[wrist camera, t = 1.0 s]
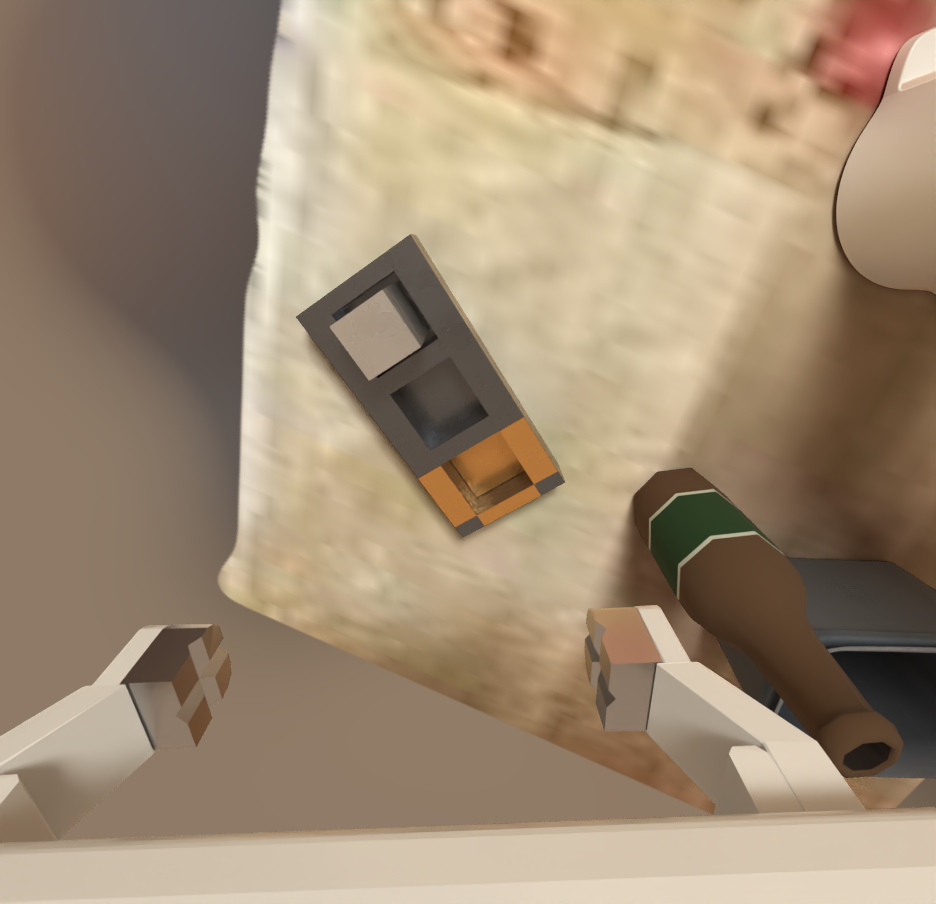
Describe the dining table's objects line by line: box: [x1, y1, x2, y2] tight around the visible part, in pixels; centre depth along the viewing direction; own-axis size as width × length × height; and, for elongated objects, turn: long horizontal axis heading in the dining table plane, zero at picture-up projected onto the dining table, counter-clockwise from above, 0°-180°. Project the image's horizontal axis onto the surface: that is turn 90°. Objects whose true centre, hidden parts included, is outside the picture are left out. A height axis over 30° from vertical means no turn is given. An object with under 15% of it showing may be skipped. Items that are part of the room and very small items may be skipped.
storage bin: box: [716, 558, 936, 778], centre depth 42 cm, size 21×16×14 cm
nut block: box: [330, 281, 429, 381], centre depth 34 cm, size 4×4×7 cm
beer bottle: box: [635, 468, 904, 778], centre depth 33 cm, size 8×8×24 cm
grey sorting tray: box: [296, 234, 565, 537], centre depth 39 cm, size 10×22×4 cm, turn 33°
